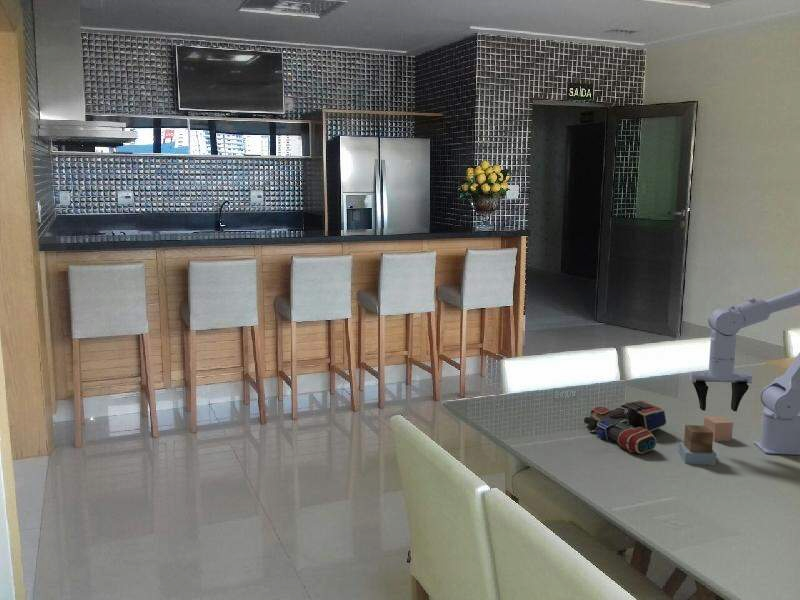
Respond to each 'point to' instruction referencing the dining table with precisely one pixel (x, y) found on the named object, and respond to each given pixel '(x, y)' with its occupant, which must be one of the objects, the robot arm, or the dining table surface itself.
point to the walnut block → (698, 438)
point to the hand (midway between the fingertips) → (718, 409)
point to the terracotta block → (719, 428)
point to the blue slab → (696, 456)
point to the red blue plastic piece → (628, 425)
